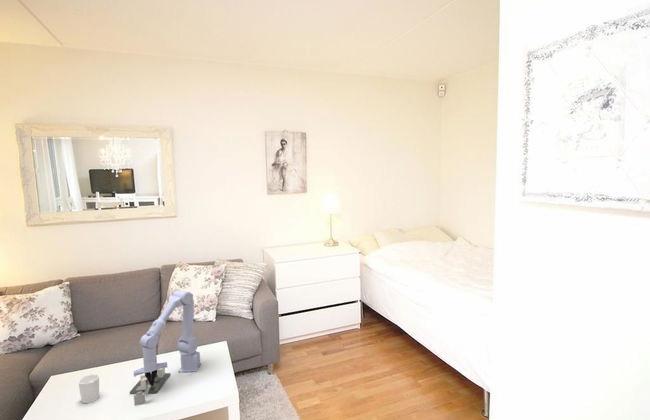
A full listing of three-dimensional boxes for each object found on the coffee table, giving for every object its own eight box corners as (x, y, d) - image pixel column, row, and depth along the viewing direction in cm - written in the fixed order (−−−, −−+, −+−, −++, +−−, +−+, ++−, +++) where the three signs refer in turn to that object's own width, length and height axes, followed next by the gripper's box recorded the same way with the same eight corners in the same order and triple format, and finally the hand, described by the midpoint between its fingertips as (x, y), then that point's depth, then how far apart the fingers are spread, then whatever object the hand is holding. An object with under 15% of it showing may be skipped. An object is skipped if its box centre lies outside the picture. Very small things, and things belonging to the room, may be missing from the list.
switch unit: (170, 375, 176) (170, 372, 175) (156, 393, 161) (156, 390, 161) (145, 376, 175) (145, 373, 175) (129, 394, 160) (129, 391, 160)
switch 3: (165, 374, 174) (164, 366, 174) (162, 377, 171) (161, 369, 171) (160, 374, 174) (160, 366, 174) (157, 377, 171) (157, 369, 171)
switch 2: (149, 386, 164) (148, 377, 164) (146, 389, 161) (145, 381, 161) (144, 386, 164) (143, 377, 164) (141, 390, 161) (140, 381, 161)
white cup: (84, 406, 152) (83, 386, 151) (77, 400, 156) (75, 380, 155) (103, 397, 159) (102, 377, 158) (95, 391, 163) (94, 372, 162)
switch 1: (148, 380, 169) (148, 371, 169) (145, 383, 166) (145, 375, 166) (144, 380, 169) (143, 372, 169) (140, 383, 166) (140, 375, 166)
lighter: (134, 405, 152) (133, 388, 152) (135, 402, 154) (134, 386, 153) (151, 402, 154) (150, 385, 154) (152, 399, 156) (151, 383, 155)
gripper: (165, 350, 169) (166, 376, 170) (132, 359, 161) (134, 386, 162) (167, 357, 163) (168, 383, 164) (133, 366, 155) (135, 393, 156)
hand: (151, 385), depth 163 cm, fingers closed
